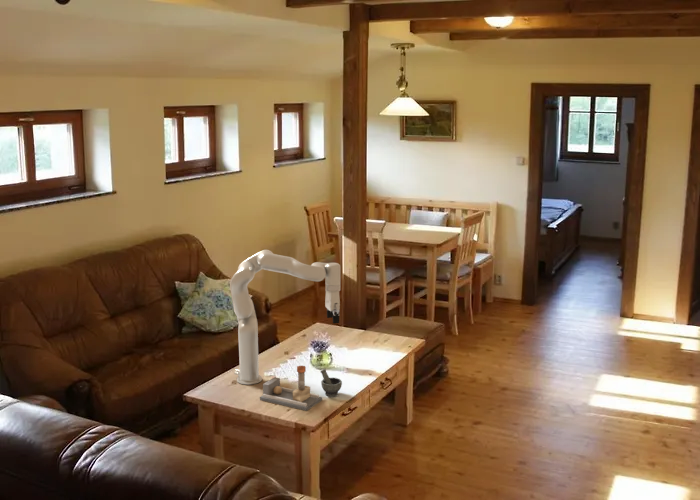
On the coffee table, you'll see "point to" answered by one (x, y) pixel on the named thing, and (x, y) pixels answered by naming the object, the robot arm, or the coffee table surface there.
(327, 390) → the mortar and pestle
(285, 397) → the nut press base
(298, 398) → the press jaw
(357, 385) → the coffee table surface
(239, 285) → the robot arm
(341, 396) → the coffee table surface
